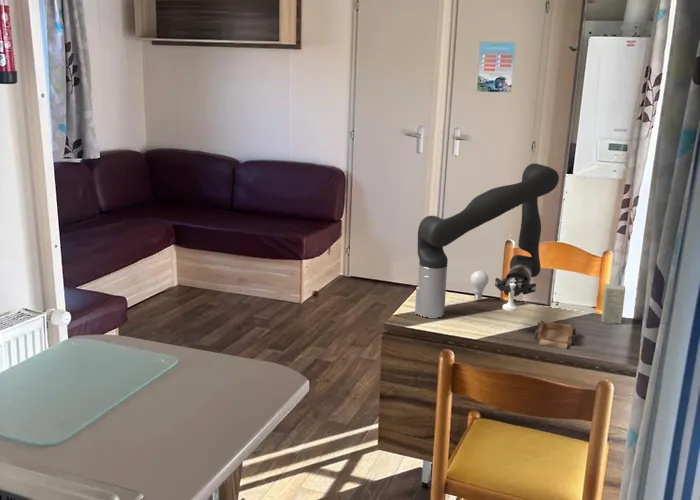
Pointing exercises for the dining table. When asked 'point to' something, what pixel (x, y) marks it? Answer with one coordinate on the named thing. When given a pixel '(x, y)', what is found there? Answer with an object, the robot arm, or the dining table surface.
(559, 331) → the truck bed
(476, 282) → the lightbulb
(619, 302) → the skincare box
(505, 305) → the chess piece
